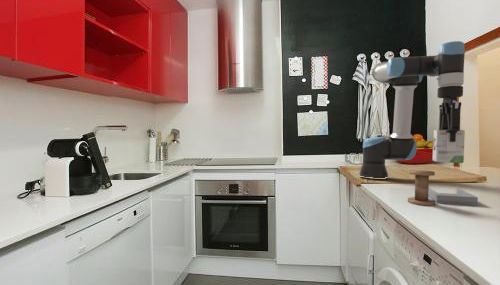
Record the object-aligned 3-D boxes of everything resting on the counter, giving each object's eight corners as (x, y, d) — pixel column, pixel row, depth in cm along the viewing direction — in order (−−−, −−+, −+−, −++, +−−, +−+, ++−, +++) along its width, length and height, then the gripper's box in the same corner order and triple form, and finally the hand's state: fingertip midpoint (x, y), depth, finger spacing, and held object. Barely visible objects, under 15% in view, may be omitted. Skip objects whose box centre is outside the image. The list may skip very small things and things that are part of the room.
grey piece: (425, 194, 119) (425, 187, 118) (460, 196, 115) (461, 189, 115) (436, 202, 105) (437, 195, 105) (477, 205, 101) (478, 197, 101)
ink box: (435, 162, 101) (437, 129, 100) (431, 160, 106) (433, 129, 105) (464, 163, 98) (465, 129, 97) (458, 161, 103) (460, 129, 102)
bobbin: (405, 198, 111) (405, 169, 111) (430, 200, 109) (431, 170, 108) (411, 204, 103) (412, 172, 102) (439, 206, 100) (440, 173, 100)
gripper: (430, 89, 110) (428, 148, 112) (447, 83, 93) (445, 152, 94) (452, 89, 108) (450, 148, 109) (474, 82, 91) (471, 152, 92)
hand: (447, 150), depth 102 cm, fingers closed on ink box, 5 cm apart
